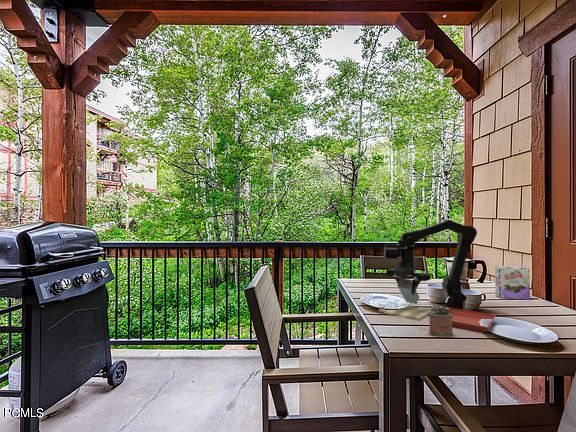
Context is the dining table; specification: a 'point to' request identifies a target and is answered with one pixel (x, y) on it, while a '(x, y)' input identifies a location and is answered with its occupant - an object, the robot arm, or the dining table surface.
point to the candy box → (512, 282)
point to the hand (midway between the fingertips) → (407, 293)
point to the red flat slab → (469, 319)
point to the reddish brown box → (440, 322)
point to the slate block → (407, 291)
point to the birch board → (409, 312)
